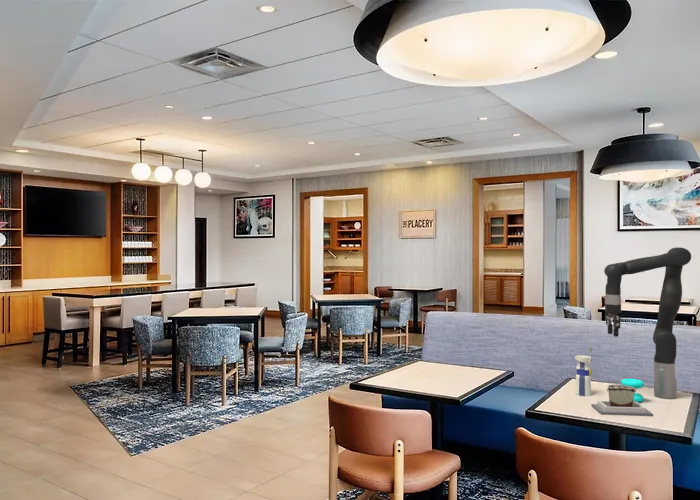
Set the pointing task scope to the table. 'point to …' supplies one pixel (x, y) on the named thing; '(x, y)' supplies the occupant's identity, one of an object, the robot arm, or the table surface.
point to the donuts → (636, 385)
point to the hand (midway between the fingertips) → (613, 335)
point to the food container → (621, 395)
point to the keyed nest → (621, 409)
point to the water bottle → (583, 375)
